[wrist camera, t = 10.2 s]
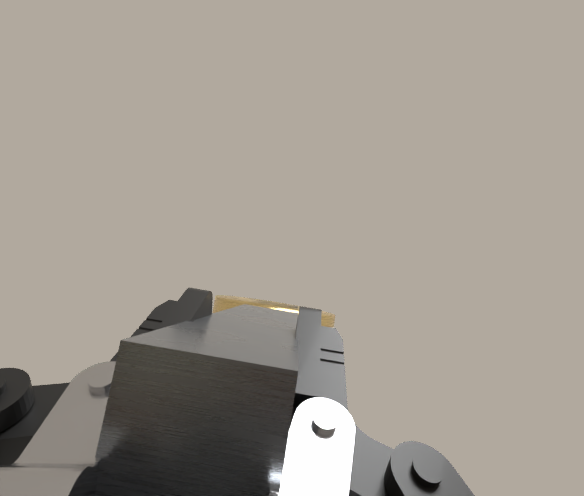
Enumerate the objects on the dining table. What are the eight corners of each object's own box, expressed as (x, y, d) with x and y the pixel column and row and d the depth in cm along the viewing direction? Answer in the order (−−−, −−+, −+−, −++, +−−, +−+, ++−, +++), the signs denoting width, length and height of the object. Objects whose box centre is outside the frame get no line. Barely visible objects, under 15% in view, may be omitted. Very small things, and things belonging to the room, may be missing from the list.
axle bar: (431, 604, 5) (452, 397, 5) (-74, 504, 5) (-22, 314, 6) (323, 349, 26) (329, 311, 26) (222, 332, 26) (229, 294, 26)
